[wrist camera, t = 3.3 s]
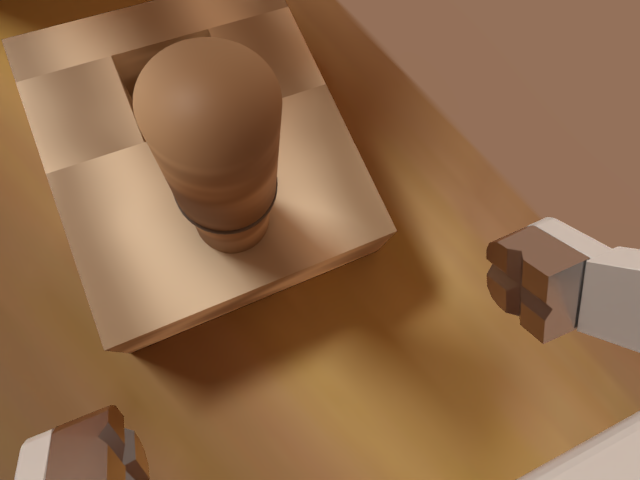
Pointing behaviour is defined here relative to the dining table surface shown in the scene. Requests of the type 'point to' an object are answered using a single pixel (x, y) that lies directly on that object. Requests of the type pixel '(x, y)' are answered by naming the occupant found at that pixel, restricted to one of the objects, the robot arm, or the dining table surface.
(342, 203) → the board
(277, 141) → the peg
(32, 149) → the dining table surface
